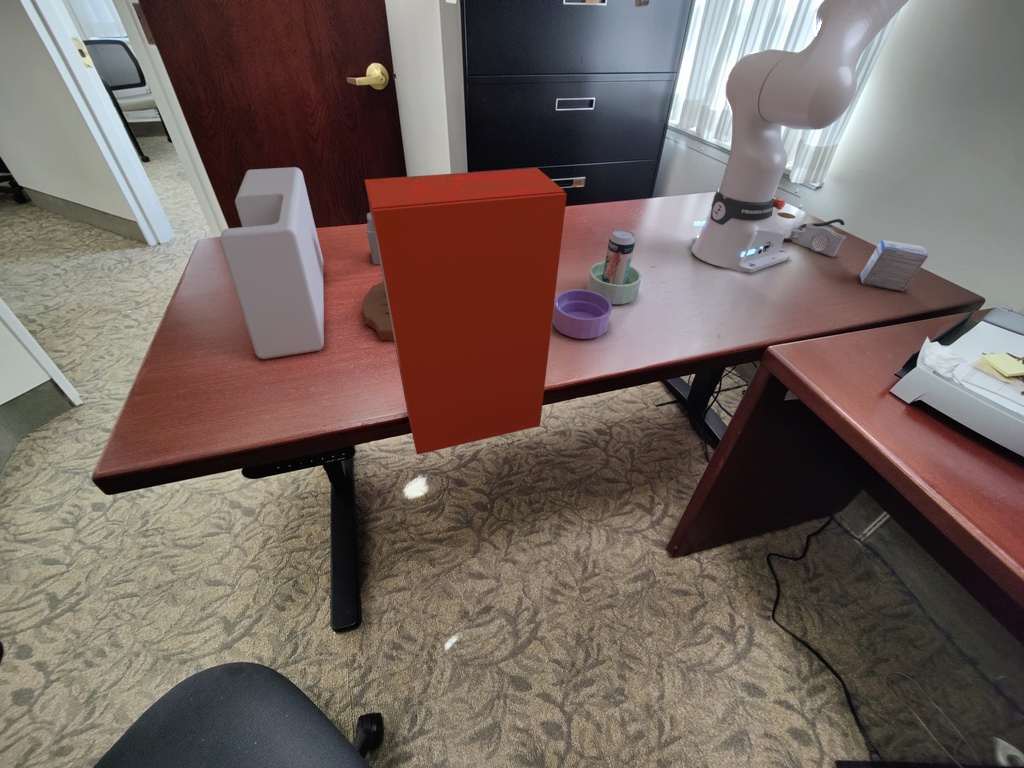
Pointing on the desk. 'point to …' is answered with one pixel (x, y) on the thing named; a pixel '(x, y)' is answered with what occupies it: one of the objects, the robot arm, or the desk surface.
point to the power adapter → (372, 240)
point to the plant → (378, 312)
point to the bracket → (277, 263)
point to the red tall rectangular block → (469, 297)
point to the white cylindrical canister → (618, 257)
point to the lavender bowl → (581, 313)
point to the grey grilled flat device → (811, 233)
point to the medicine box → (893, 265)
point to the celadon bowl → (612, 291)
